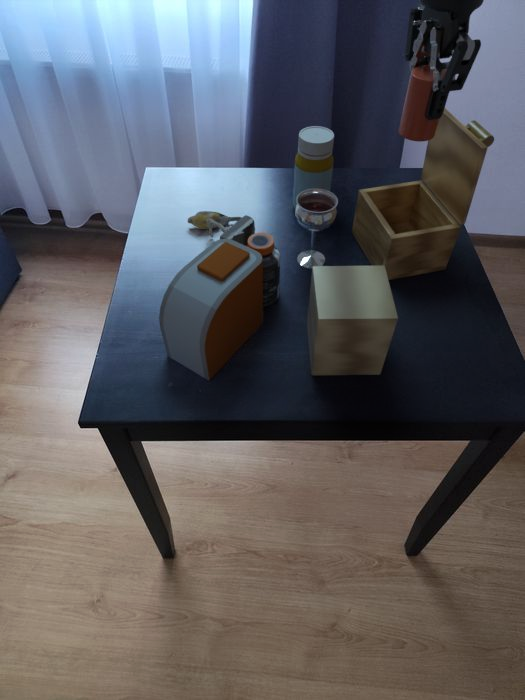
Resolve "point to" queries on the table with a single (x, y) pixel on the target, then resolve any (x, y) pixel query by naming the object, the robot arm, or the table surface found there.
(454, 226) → the box
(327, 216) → the wineglass
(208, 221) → the decorative sculpture
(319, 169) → the bottle
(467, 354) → the table surface
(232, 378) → the table surface
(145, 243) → the table surface
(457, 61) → the robot arm
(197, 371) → the alarm clock
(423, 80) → the spice tin
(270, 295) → the pill bottle
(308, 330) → the block
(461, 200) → the lid
